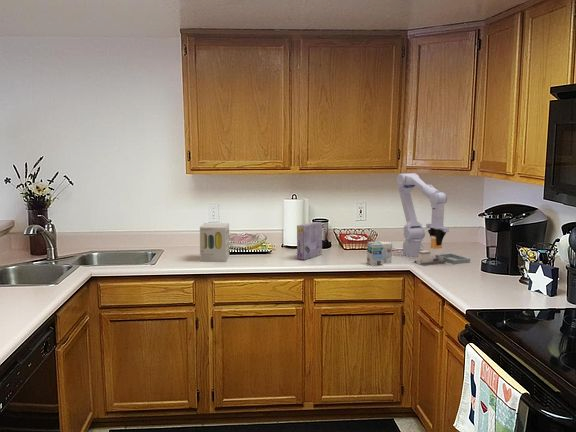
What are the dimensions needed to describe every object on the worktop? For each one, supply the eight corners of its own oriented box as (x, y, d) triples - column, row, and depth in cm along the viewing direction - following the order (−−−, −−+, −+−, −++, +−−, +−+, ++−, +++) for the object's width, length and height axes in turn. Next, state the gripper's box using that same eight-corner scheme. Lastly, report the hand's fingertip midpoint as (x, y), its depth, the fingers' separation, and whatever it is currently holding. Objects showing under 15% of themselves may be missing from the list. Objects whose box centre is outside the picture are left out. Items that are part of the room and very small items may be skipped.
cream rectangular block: (417, 263, 272) (418, 251, 271) (425, 262, 274) (426, 250, 273) (421, 264, 269) (422, 252, 268) (429, 263, 271) (430, 251, 270)
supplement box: (199, 261, 277) (199, 226, 275) (204, 256, 290) (203, 222, 288) (226, 262, 277) (225, 227, 274) (229, 256, 290) (229, 223, 287)
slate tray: (435, 260, 283) (435, 254, 283) (450, 258, 287) (451, 253, 287) (453, 266, 270) (454, 260, 270) (470, 264, 274) (470, 258, 274)
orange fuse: (430, 247, 274) (431, 235, 273) (438, 247, 276) (438, 235, 275) (434, 248, 271) (435, 236, 270) (442, 248, 273) (442, 236, 272)
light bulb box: (371, 266, 269) (372, 244, 268) (366, 263, 276) (366, 241, 274) (392, 265, 272) (392, 243, 271) (386, 262, 279) (386, 240, 277)
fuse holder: (412, 264, 274) (412, 257, 274) (435, 261, 280) (435, 254, 279) (423, 268, 266) (424, 260, 266) (447, 265, 272) (447, 258, 271)
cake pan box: (315, 253, 299) (316, 220, 296) (323, 254, 296) (324, 221, 294) (295, 259, 283) (296, 225, 281) (304, 260, 280) (304, 226, 278)
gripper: (421, 215, 276) (420, 242, 278) (440, 219, 263) (439, 247, 265) (433, 214, 279) (432, 241, 281) (452, 218, 266) (451, 246, 268)
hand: (436, 244), depth 273 cm, fingers closed on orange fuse, 3 cm apart
